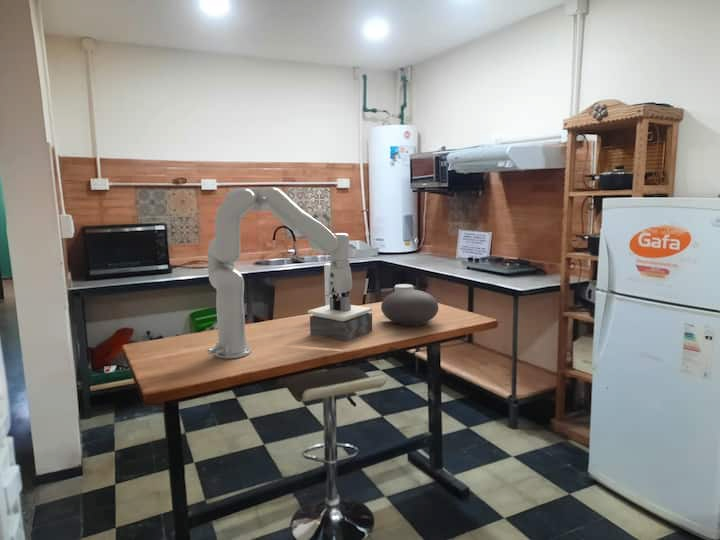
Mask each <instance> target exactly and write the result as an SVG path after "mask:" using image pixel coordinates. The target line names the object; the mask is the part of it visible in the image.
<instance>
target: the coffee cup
mask: <svg viewBox="0 0 720 540" xmlns="http://www.w3.org/2000/svg"><path fill="white" fill-rule="evenodd" d="M414 287H415V286H414V285H413V284H411V283H410V284H409V283H403V284H402V283H399V284H395V286H394V287H393V288H394V292H395V291H399V290H404V289H414V290H415V288H414Z"/></svg>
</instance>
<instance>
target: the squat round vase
mask: <svg viewBox="0 0 720 540" xmlns="http://www.w3.org/2000/svg"><path fill="white" fill-rule="evenodd" d="M380 308H381V312H382V314H383V316H384V317H386V319H388V320H389V321H391V322H393V323H395V324H399V325H403V326H416V325H417V326H418V325H422V324H424V323H425V324H426V323H427V322H429V321H431V320H433V319H434V318H435V317H436V316H437V314H438V312H439V303H438V301H437V299H435V297H434V296H432V295H431V294H430V293H428V292H426V291H424V290H419V289H415V288H414V289H404V290H399V291H395V290H394V291H393V292H391V293H390V294H388V295H386V296H385V297H384V299H383V300H382V302H381V305H380Z"/></svg>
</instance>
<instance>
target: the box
mask: <svg viewBox="0 0 720 540" xmlns="http://www.w3.org/2000/svg"><path fill="white" fill-rule="evenodd" d="M309 329H310V330H309V332H310V335H313V336H316V337H317V336H318V337H323V338H326V339H327V338H328V339H332V340H336V341H341V342H348V341H350V340H352V339H355V338H357V337H359V336H360V337H361V336H362V335H364V334H368V333H369V332H372V331H373V312H367V314H365V315H362V316H359V317H356V318H353V319H350V320H349V321H347V322H340V321H335V320H332V319H327V318H322V317H316V316H313V315H311V316H309Z"/></svg>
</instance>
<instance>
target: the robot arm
mask: <svg viewBox="0 0 720 540" xmlns="http://www.w3.org/2000/svg"><path fill="white" fill-rule="evenodd" d="M255 211H269V212H270V213H271V214H272V215H273V216H275V217H276V218H277V219H278V220H279V221H280V222H281V223H282V224H284V225H285V226H286V227H287V228H288V229H290V230H291V231H293V232H295V233H297V234H300V235H302V236H303V237H305V238H306V239H308V243H309V247H310V248H311V249H312V250H313V251H315V252H317V253H322V254H326V255H330V256H329V257H330V259H329V260H330V262H329V263H330V273H329V293H328V295H329V296H331V297H332V300H333V309H334V310H340V300H339V296H340V293H341V296H342V297H348V298H349V294H350V293H351V291H352V289H353V278H352V277H353V275H352V269H351V266H350V236H349V234H348V233H346V232H335V233H334V232H331V231H330V229H329V228H327V227H326V226H325V225H323V224H322V223H321V222H320V221H318V220H317V219H315V218H314V217H313V216H311V215H310V214H309V213H307V212H306V211H305V210H303V209H302V208H301V207H300V206H299V205H298V204H296V203H295V202H294V201H293V200H292V199H291V198H290V197H289V196H288V195H287V194H286V193H285V192H283V191H282V190H281V189H280V188H278V187H273V186H270V187H269V186H268V187H253V188H252V187H251V188H250V187H249V188H246V187H237V188H232V189H230V190H228V191H227V192H226V193H225V195H224V200H223V201H222V203H221V204H220V205H219V207H218V209H217V212H216V215H215V225H214V226H215V229H214V230H215V231H214V237H213V238H212V239H211V241H210V242H209V244H208V247H207V265H208V266H207V269H208V270H207V271H208V280H209V282H210V285H211V287H213V288H214V289H216V290H215V291H216V296H215V297H216V298H215V304H216V305H215V307H216V309H215V310H216V322H217V338H218V342H217V343H216V344H215V346H214V347H211V348H208V349H207V354H208V355H212V354H214V355H215V357H216V358H219V359H225V360H226V359H227V360H230V359H238V358H243V357H246V356H248V355H249V354H250V353H251V347H249V346H248V345H247V339H246V325H245V324H246V322H245V306H244V305H245V304H244V302H245V301H244V300H245V299H244V293H245V280H244V276H243V274H242V273H241V272H240V271H239V270H238V269H236V268H235V263H236V262H237V261H238V260H239V259H240V257H241V254H242V253H241V252H242V247H241V225H242V220H243V218H244V216H245V214H247V213H248V212H255ZM335 294H337V296H336V295H335Z"/></svg>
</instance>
